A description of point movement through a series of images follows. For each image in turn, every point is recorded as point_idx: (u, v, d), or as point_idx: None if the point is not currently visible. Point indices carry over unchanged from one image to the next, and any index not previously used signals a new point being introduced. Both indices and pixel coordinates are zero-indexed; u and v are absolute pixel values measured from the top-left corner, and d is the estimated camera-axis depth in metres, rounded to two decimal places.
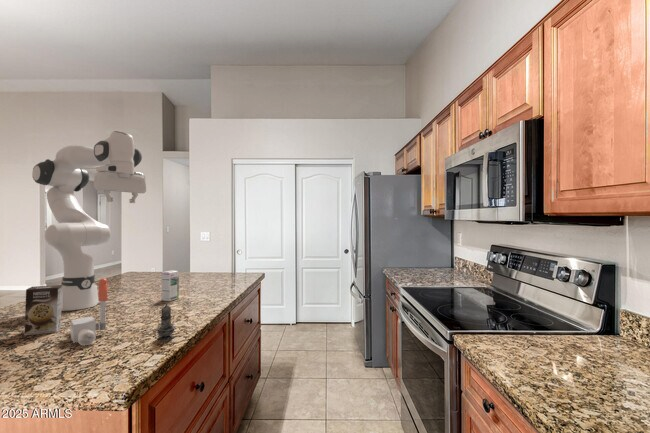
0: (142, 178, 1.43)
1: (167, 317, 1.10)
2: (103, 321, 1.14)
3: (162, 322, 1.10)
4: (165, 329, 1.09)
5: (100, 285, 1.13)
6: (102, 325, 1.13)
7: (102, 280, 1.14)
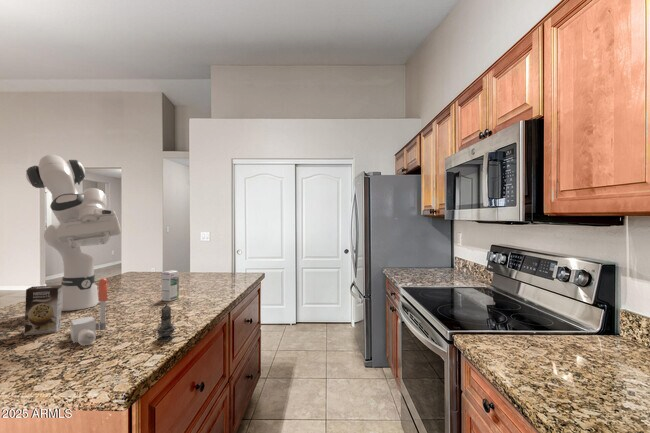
0: None
1: (167, 317, 1.10)
2: (103, 321, 1.14)
3: (162, 322, 1.10)
4: (165, 329, 1.09)
5: (100, 285, 1.13)
6: (102, 325, 1.13)
7: (102, 280, 1.14)
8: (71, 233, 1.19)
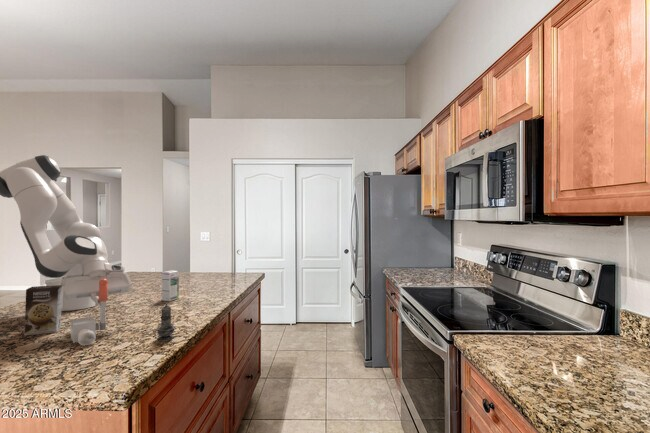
0: None
1: (167, 317, 1.10)
2: (103, 321, 1.14)
3: (162, 322, 1.10)
4: (165, 329, 1.09)
5: (100, 285, 1.13)
6: (102, 325, 1.13)
7: (102, 280, 1.13)
8: (82, 290, 1.14)
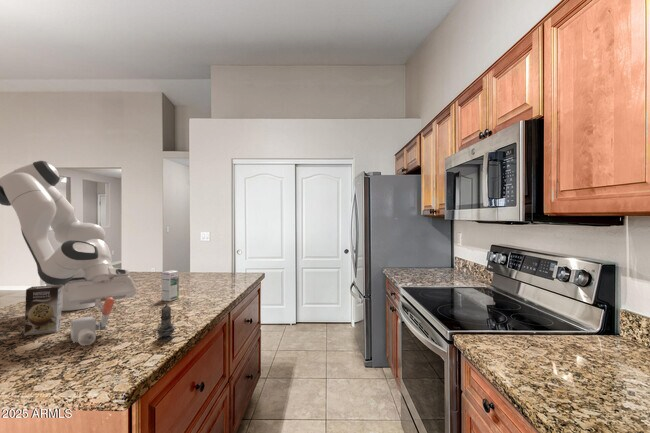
0: None
1: (167, 317, 1.10)
2: (103, 325, 1.13)
3: (162, 322, 1.10)
4: (165, 329, 1.09)
5: (106, 305, 1.06)
6: (102, 328, 1.13)
7: (108, 302, 1.05)
8: (86, 296, 1.09)
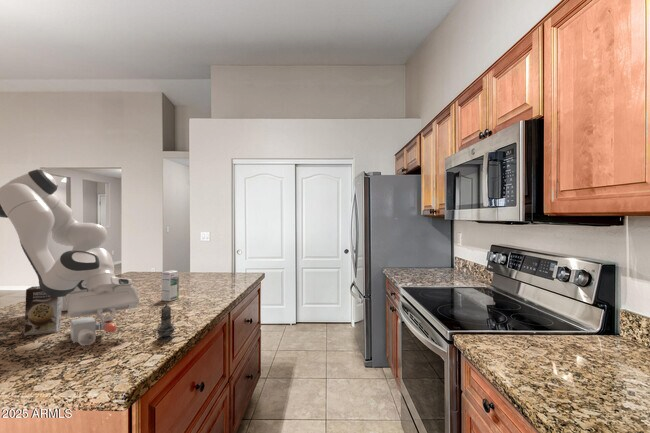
0: None
1: (167, 317, 1.10)
2: None
3: (162, 322, 1.10)
4: (165, 329, 1.09)
5: (107, 331, 1.03)
6: None
7: (110, 331, 1.02)
8: (88, 307, 1.05)
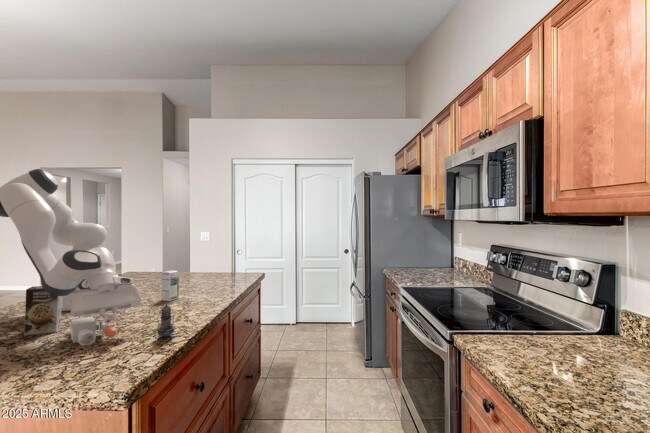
0: None
1: (167, 317, 1.10)
2: None
3: (162, 322, 1.10)
4: (165, 329, 1.09)
5: None
6: None
7: (110, 336, 1.02)
8: (90, 306, 1.06)
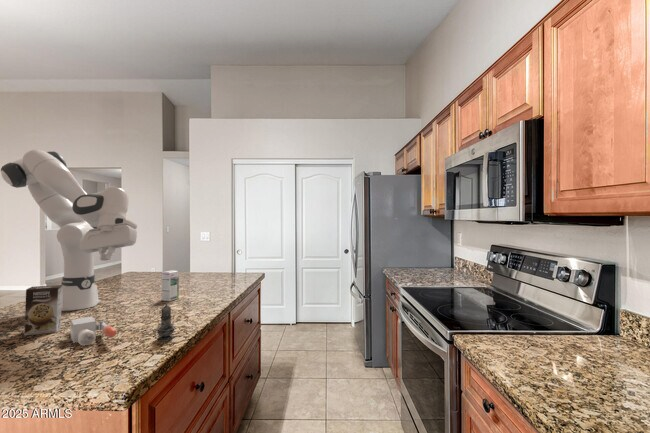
0: None
1: (167, 317, 1.10)
2: None
3: (162, 322, 1.10)
4: (165, 329, 1.09)
5: None
6: None
7: (110, 336, 1.02)
8: (91, 246, 1.19)
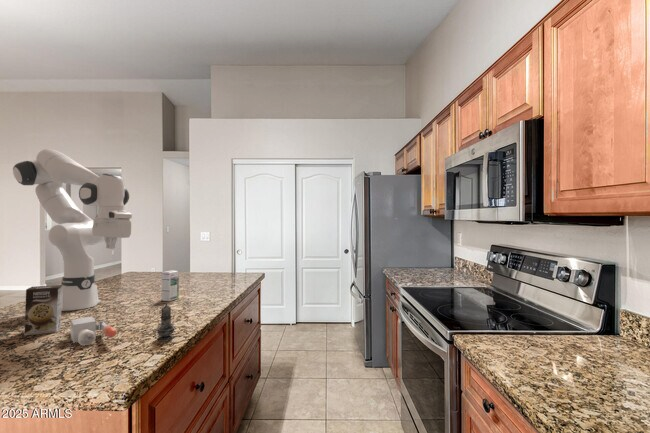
0: None
1: (167, 317, 1.10)
2: None
3: (162, 322, 1.10)
4: (165, 329, 1.09)
5: None
6: None
7: (110, 336, 1.02)
8: (98, 234, 1.30)
